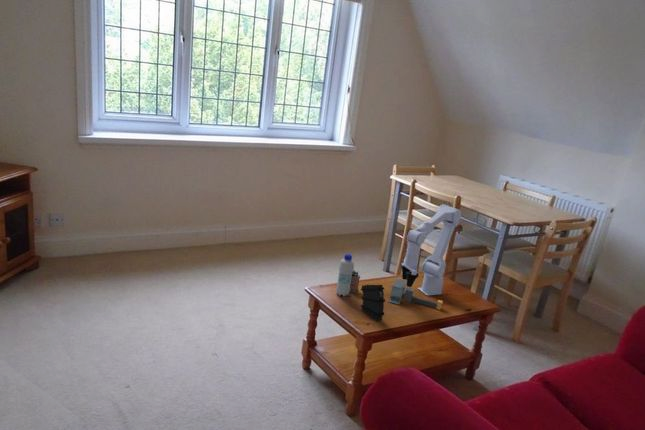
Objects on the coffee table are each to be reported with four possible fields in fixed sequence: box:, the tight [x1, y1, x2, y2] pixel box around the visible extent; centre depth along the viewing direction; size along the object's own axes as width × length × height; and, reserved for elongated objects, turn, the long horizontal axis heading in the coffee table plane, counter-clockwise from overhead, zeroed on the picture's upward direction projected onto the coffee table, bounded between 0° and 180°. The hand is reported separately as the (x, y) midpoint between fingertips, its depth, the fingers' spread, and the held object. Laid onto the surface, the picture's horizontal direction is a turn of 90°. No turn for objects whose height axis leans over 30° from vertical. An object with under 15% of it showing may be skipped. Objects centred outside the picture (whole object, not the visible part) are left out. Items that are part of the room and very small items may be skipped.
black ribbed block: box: [360, 284, 386, 322], centre depth 208 cm, size 4×13×15 cm, turn 34°
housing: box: [387, 278, 407, 305], centre depth 229 cm, size 5×16×7 cm, turn 160°
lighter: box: [349, 269, 361, 293], centre depth 229 cm, size 8×3×10 cm, turn 84°
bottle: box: [335, 253, 355, 297], centre depth 222 cm, size 7×7×20 cm
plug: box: [403, 286, 443, 311], centre depth 226 cm, size 17×3×5 cm, turn 70°
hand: (406, 282), depth 224 cm, fingers open, 7 cm apart
